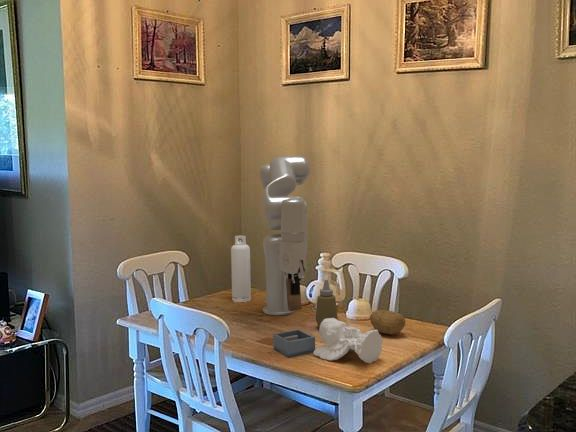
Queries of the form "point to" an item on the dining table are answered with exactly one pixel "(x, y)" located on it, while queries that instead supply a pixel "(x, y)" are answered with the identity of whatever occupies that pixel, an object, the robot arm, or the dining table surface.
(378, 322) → the potato
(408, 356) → the dining table surface
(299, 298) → the brown rectangular block
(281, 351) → the grey open storage bin
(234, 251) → the bottle
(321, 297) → the squeeze bottle
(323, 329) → the cherub figurine
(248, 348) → the dining table surface
